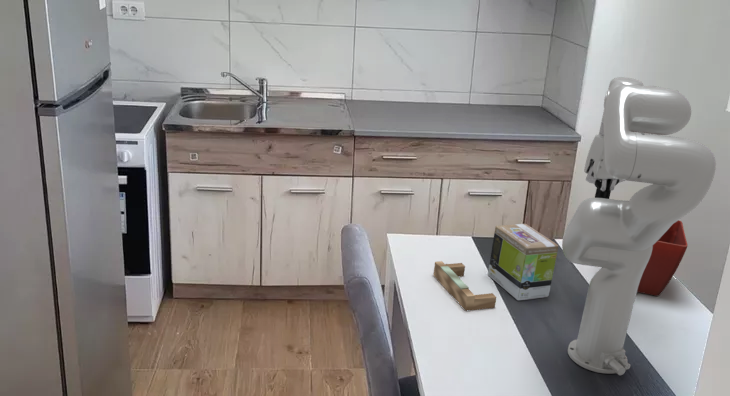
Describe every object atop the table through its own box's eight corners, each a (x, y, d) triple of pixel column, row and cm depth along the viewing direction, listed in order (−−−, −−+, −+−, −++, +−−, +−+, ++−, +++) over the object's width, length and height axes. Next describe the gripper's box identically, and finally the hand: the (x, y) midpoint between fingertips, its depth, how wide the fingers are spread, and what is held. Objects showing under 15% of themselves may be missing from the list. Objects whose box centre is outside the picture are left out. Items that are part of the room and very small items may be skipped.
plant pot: (595, 289, 186) (608, 231, 180) (597, 261, 203) (609, 207, 197) (672, 305, 181) (688, 246, 175) (667, 275, 198) (682, 220, 192)
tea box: (550, 297, 180) (560, 245, 174) (516, 302, 176) (526, 248, 171) (517, 271, 192) (526, 221, 187) (486, 274, 189) (494, 224, 184)
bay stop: (494, 307, 172) (497, 292, 170) (465, 311, 169) (467, 295, 168) (460, 272, 188) (462, 258, 187) (433, 275, 186) (435, 260, 184)
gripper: (632, 126, 169) (616, 196, 175) (579, 127, 164) (565, 199, 171) (653, 135, 162) (636, 208, 169) (599, 137, 157) (583, 212, 164)
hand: (600, 204), depth 170 cm, fingers closed
